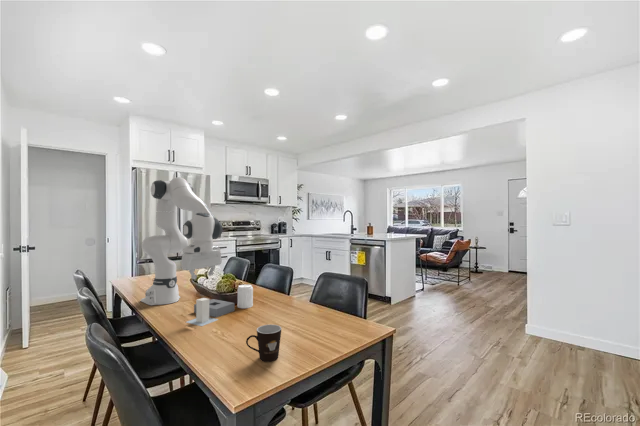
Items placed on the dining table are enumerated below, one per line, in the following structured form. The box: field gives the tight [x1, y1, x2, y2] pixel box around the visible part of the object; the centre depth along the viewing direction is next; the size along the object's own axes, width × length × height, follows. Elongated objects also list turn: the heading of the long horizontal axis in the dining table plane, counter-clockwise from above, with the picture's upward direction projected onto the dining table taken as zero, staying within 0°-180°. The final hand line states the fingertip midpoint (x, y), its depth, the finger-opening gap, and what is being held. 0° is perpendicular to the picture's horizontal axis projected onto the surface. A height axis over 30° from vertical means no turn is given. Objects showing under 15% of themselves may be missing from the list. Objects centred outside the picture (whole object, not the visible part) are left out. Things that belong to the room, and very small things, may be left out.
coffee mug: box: [245, 324, 282, 363], centre depth 104 cm, size 12×9×10 cm
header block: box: [193, 298, 235, 318], centre depth 153 cm, size 16×12×5 cm
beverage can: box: [237, 284, 254, 309], centre depth 163 cm, size 8×8×12 cm
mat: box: [185, 316, 219, 327], centre depth 139 cm, size 11×10×1 cm
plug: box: [195, 297, 210, 323], centre depth 139 cm, size 4×4×10 cm
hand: (202, 276), depth 140 cm, fingers open, 8 cm apart
